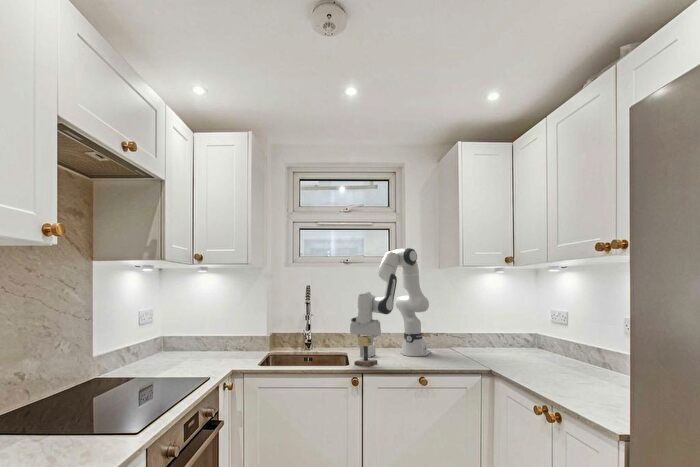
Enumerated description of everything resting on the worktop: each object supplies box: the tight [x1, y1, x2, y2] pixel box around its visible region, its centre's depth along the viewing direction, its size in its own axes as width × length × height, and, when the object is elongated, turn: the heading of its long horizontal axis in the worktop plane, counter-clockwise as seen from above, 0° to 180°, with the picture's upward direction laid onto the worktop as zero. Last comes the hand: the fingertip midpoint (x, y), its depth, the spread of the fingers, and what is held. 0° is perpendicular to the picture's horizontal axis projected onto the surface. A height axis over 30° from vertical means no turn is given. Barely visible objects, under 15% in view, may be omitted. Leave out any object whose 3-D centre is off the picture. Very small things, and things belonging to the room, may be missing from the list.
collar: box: [357, 335, 374, 347], centre depth 246 cm, size 6×6×5 cm
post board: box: [353, 346, 378, 367], centre depth 245 cm, size 10×10×12 cm
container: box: [359, 343, 377, 358], centre depth 270 cm, size 8×8×13 cm
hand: (365, 342), depth 246 cm, fingers closed on collar, 6 cm apart
